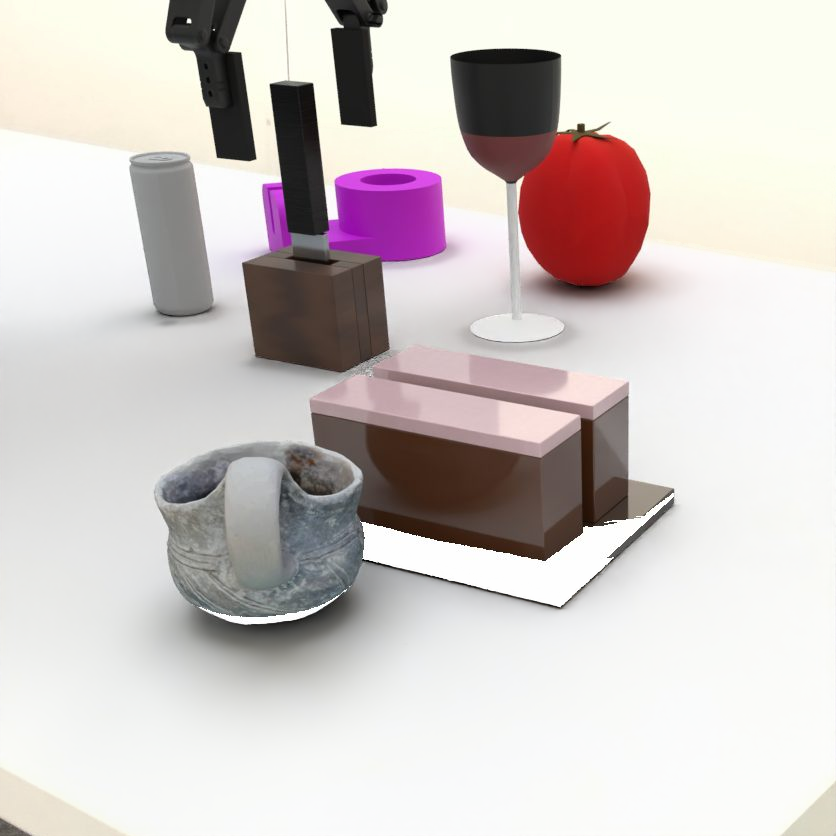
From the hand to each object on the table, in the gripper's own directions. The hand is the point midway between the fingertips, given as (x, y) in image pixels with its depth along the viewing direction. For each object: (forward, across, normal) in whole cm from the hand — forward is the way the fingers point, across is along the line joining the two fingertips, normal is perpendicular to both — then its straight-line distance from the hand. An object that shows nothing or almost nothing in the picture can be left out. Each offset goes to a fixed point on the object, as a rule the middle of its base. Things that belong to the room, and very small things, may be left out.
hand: (301, 141), depth 93 cm
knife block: (+15, 0, 0) cm, 15 cm away
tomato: (+16, +26, -9) cm, 31 cm away
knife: (+15, 0, 0) cm, 15 cm away
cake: (+15, -20, -26) cm, 36 cm away
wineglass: (+16, +12, -10) cm, 22 cm away
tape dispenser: (+15, +26, +15) cm, 34 cm away
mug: (+15, -34, -23) cm, 44 cm away
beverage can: (+15, +4, +17) cm, 23 cm away
